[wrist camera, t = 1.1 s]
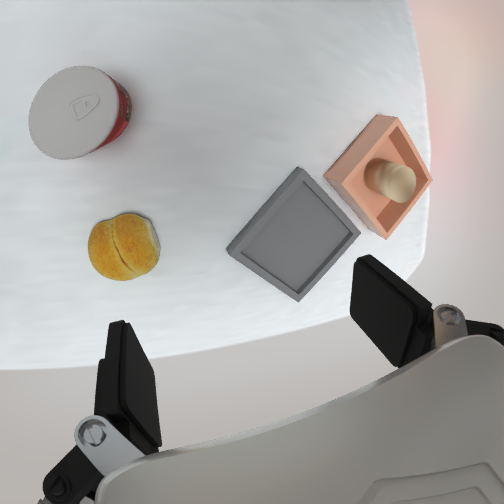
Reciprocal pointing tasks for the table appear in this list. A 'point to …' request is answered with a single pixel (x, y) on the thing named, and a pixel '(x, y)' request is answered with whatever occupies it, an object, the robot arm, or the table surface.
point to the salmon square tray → (355, 160)
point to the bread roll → (124, 247)
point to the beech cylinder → (390, 179)
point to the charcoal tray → (294, 236)
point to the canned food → (78, 112)
